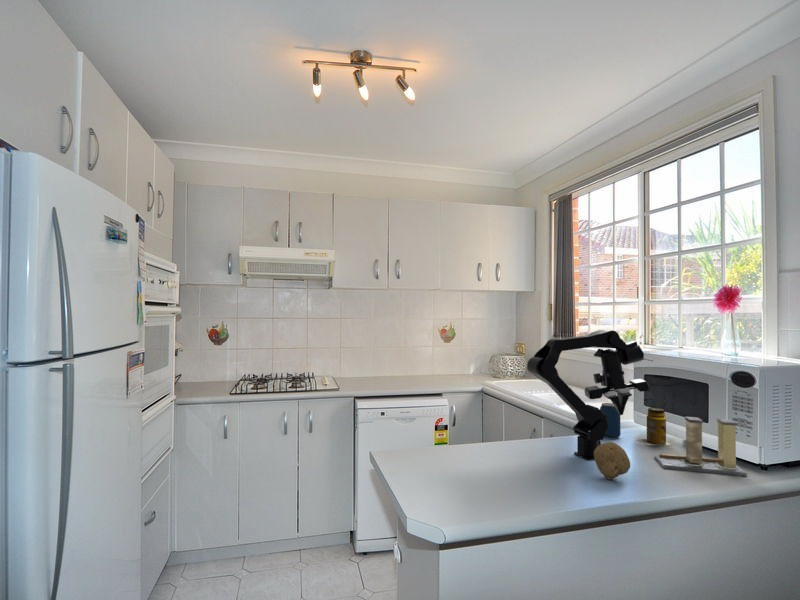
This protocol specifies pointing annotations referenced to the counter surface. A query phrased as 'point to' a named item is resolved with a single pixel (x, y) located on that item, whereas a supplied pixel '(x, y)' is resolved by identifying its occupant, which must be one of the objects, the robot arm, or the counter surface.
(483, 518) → the counter surface
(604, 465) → the natural sponge
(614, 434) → the soda can
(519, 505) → the counter surface
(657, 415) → the condiment
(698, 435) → the post
